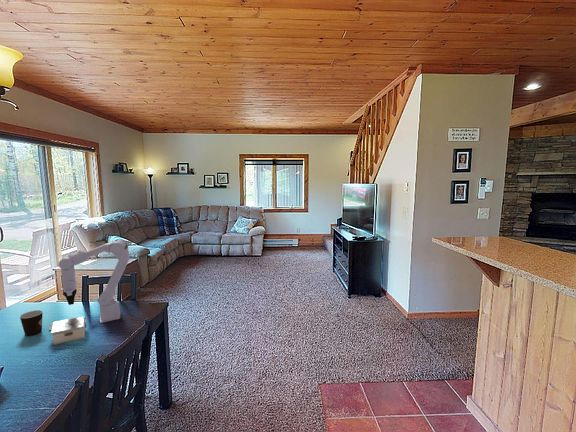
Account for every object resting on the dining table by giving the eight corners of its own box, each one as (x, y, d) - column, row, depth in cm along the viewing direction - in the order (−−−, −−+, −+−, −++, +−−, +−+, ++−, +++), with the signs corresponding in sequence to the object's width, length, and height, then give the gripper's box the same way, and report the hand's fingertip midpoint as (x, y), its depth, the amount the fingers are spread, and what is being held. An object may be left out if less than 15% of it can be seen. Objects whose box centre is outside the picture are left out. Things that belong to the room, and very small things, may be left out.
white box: (87, 325, 158) (86, 315, 157) (87, 338, 146) (86, 327, 145) (55, 332, 151) (54, 322, 150) (53, 346, 139) (52, 335, 138)
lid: (83, 317, 156) (83, 316, 156) (83, 327, 146) (83, 326, 146) (50, 323, 148) (50, 322, 148) (48, 335, 138) (48, 333, 138)
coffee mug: (31, 338, 145) (29, 319, 144) (17, 336, 147) (15, 317, 146) (54, 326, 157) (52, 308, 155) (41, 325, 158) (39, 307, 157)
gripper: (60, 277, 161) (62, 301, 163) (58, 285, 149) (61, 311, 151) (76, 274, 165) (78, 298, 167) (75, 282, 153) (78, 307, 155)
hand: (71, 304), depth 159 cm, fingers closed
